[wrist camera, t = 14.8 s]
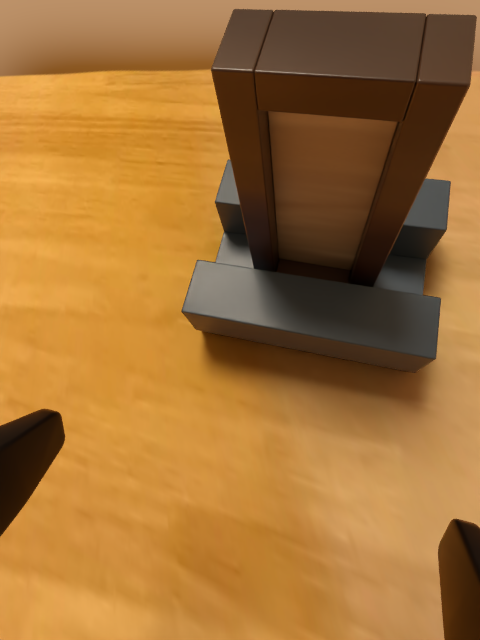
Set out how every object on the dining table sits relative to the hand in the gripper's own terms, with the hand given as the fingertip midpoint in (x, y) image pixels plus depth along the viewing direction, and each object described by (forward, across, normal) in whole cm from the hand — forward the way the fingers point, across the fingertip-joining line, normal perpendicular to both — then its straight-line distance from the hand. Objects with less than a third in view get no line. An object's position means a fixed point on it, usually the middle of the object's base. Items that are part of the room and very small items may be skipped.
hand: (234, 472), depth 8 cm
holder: (+16, 0, +1) cm, 16 cm away
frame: (+15, 0, 0) cm, 15 cm away
